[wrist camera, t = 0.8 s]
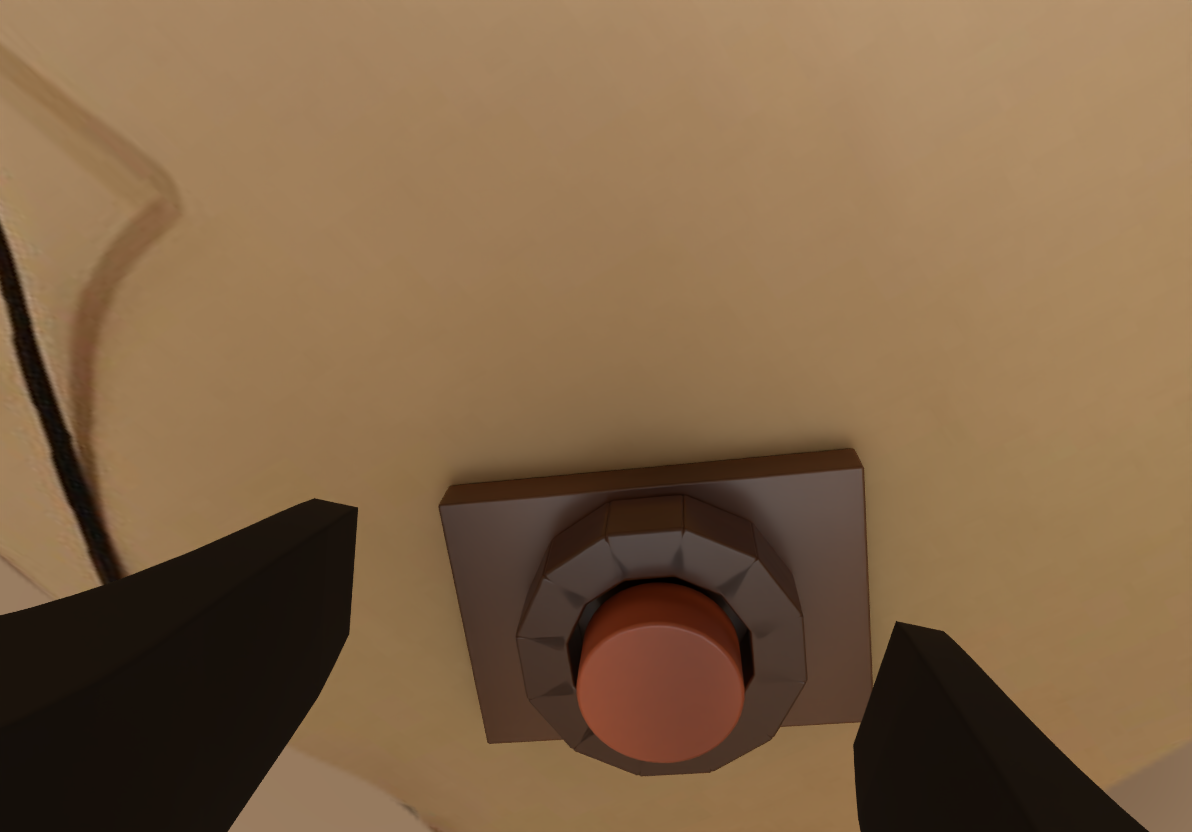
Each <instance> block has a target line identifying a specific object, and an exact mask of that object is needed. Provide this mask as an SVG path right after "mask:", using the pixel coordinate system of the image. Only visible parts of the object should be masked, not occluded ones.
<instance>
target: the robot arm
mask: <svg viewBox="0 0 1192 832" xmlns="http://www.w3.org/2000/svg"><path fill="white" fill-rule="evenodd" d="M357 516H358V507H353V506H348V505H344V504H339V503H334V502H329V501H325V500H320V499H315V498H314V499H311V500H309V501H306V502H303V503H300V504H298V505H295V506H293V507H291V508H288V509H286V510H284V511H281V512H279V513H277V514H275V515H272V516H270V517H268V518H266V519H264V520H261V521H259V522H257V523H255V524H252V525H250V526H248V527H246V528H244V529H241V530H239V531H237V532H235V533H232V534H230V535H228V536H225V537H223V538H221V539H219V540H216V541H214V542H212V543H210V544H207V545H205V546H203V547H200V548H198V549H196V550H194V551H191V552H189V553H186V554H184V555H181V556H179V557H176V558H173V559H171V560H168V561H166V562H163V563H161V564H158V565H156V566H153V567H150V568H148V569H145V570H143V571H140V572H138V573H135V574H133V575H130V576H127V577H125V578H122V579H120V580H117V581H114V582H111V583H108V584H105V585H103V586H100V587H97V588H94V589H91V590H87V591H84V592H81V593H78V594H75V595H72V596H68V597H65V598H62V599H58V600H55V601H52V602H48V603H45V604H42V605H39V606H35V607H32V608H28V609H24V610H20V611H17V612H13V613H8V614H4V615H0V832H228V830H229V829H230V827H231V826H232V824H233V823H234V821H235V820H236V818H237V817H238V815H239V814H240V812H241V811H242V810H243V808H244V807H245V805H246V804H247V802H248V800H249V799H250V798H251V796H252V794H253V793H254V792H255V790H256V789H257V787H258V786H259V784H260V783H261V782H262V780H263V779H264V777H265V776H266V774H267V773H268V771H269V770H270V768H271V767H272V765H273V764H274V762H275V761H276V759H277V758H278V756H279V755H280V753H281V752H282V751H283V749H284V748H285V746H286V745H287V743H288V742H289V740H290V739H291V737H292V736H293V734H294V733H295V731H296V730H297V728H298V727H299V725H300V724H301V722H302V721H303V719H304V718H305V716H306V715H307V713H308V712H309V710H310V709H311V707H312V706H313V704H314V703H315V701H316V699H317V698H318V696H319V694H320V692H321V690H322V689H323V687H324V685H325V683H326V681H327V679H328V677H329V675H330V673H331V671H332V669H333V667H334V665H335V663H336V661H337V658H338V656H339V654H340V652H341V650H342V648H343V646H344V644H345V642H346V640H347V637H348V635H349V630H350V615H351V601H352V587H353V573H354V559H355V544H356V530H357ZM853 748H854V767H855V785H856V798H857V810H858V820H859V825H860V831H861V832H1149V831H1148V830H1146V829H1145V828H1144V827H1143V826H1142V825H1140V824H1139V823H1138V822H1137V821H1136V820H1135V819H1134V818H1133V817H1131V816H1130V815H1129V814H1128V813H1127V812H1126V811H1124V810H1123V809H1122V808H1121V807H1120V806H1119V805H1118V804H1117V803H1116V802H1115V801H1114V800H1112V799H1111V798H1110V797H1109V796H1108V795H1107V794H1106V793H1105V792H1104V791H1103V790H1102V789H1101V788H1099V787H1098V786H1097V785H1096V784H1095V783H1094V782H1093V781H1092V780H1091V779H1090V778H1089V777H1088V776H1087V775H1085V774H1084V773H1083V772H1082V771H1081V770H1080V769H1079V768H1078V767H1077V766H1076V765H1075V764H1074V763H1073V762H1072V761H1071V760H1070V759H1069V758H1068V757H1067V756H1066V755H1065V754H1064V753H1063V752H1062V751H1061V750H1060V749H1059V748H1058V747H1056V746H1055V745H1054V744H1053V742H1052V741H1051V740H1050V739H1049V738H1048V737H1047V736H1046V735H1045V734H1044V733H1043V732H1042V731H1041V730H1040V729H1039V728H1038V727H1037V726H1036V725H1035V724H1034V723H1033V722H1032V721H1031V720H1030V719H1029V718H1028V717H1027V716H1026V715H1025V714H1024V713H1023V712H1022V711H1021V710H1020V709H1019V708H1018V707H1017V706H1016V705H1015V703H1014V702H1013V701H1012V700H1011V699H1010V698H1009V697H1008V696H1007V695H1006V694H1005V693H1004V692H1003V691H1002V690H1001V689H1000V688H999V687H998V686H997V685H996V683H995V682H994V681H993V680H992V679H991V678H990V677H989V676H988V675H987V674H986V673H985V672H984V671H983V670H982V669H981V668H980V667H979V666H978V664H977V663H976V662H975V661H974V660H973V659H972V658H971V657H970V656H969V655H968V654H967V653H966V652H965V651H964V650H963V649H962V648H961V647H960V646H959V645H958V644H957V643H956V642H955V641H954V640H953V639H952V638H951V637H949V636H948V635H947V634H946V633H945V632H944V631H940V630H935V629H930V628H926V627H921V626H916V625H912V624H907V623H902V622H897V621H896V623H895V626H894V629H893V632H892V634H891V637H890V640H889V643H888V646H887V649H886V652H885V655H884V658H883V660H882V663H881V666H880V669H879V672H878V675H877V678H876V681H875V684H874V687H873V689H872V692H871V695H870V698H869V701H868V704H867V707H866V710H865V713H864V715H863V718H862V721H861V724H860V727H859V730H858V733H857V736H856V739H855V742H854V744H853Z"/></svg>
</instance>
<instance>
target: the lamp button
mask: <svg viewBox="0 0 1192 832" xmlns="http://www.w3.org/2000/svg"><path fill="white" fill-rule="evenodd" d="M576 693H577V701H578V705H579V708H580V711H581V713H582V716H583V718H584V720H585V721H586V723H587V725H588V726H589V728H590V729H591V730H592V731H593V733H594V734H595V735H596V736H597V737H598V738H599V739H600V740H601V741H602V742H604V743H605V744H606V745H607V746H609V747H610V748H612V749H614V750H615V751H617V752H619V753H621V754H623V755H625V756H628V757H631V758H634V759H637V760H641V761H646V762H653V763H674V762H681V761H685V760H690V759H693V758H696V757H699V756H701V755H703V754H705V753H707V752H709V751H710V750H712V749H714V748H715V747H717V746H718V745H719V744H720V743H721V742H723V741H724V740H725V739H726V738H727V736H728V735H729V734H730V733H731V732H732V730H733V729H734V727H735V726H736V724H737V722H738V720H739V718H740V716H741V713H742V710H743V706H744V699H745V687H744V679H743V671H742V663H741V655H740V647H739V641H738V636H737V633H736V630H735V628H734V626H733V624H732V622H731V620H730V619H729V617H728V616H727V614H726V613H725V612H724V611H723V610H722V608H721V607H720V606H719V605H718V604H716V603H715V602H714V601H713V600H712V599H710V598H709V597H707V596H706V595H704V594H702V593H701V592H699V591H696V590H694V589H692V588H689V587H686V586H683V585H679V584H674V583H665V582H652V583H645V584H640V585H636V586H632V587H629V588H627V589H624V590H622V591H620V592H618V593H617V594H615V595H613V596H612V597H611V598H609V599H608V600H606V601H605V602H604V603H603V604H602V605H601V606H600V607H599V608H598V609H597V610H596V612H595V613H594V614H593V616H592V618H591V619H590V621H589V623H588V625H587V628H586V630H585V635H584V639H583V645H582V651H581V658H580V664H579V670H578V676H577V686H576Z"/></svg>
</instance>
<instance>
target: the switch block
mask: <svg viewBox="0 0 1192 832" xmlns="http://www.w3.org/2000/svg"><path fill="white" fill-rule="evenodd" d="M439 512H440V516H441V521H442V526H443V531H444V536H445V540H446V545H447V550H448V555H449V560H450V564H451V569H452V574H453V579H454V584H455V588H456V593H457V598H458V603H459V608H460V612H461V617H462V622H463V627H464V632H465V637H466V641H467V646H468V651H469V656H470V661H471V665H472V670H473V675H474V680H475V685H476V689H477V694H478V699H479V704H480V709H481V713H482V718H483V723H484V728H485V733H486V737H487V742H488V743H489V744H494V743H511V742H529V741H546V740H564V741H565V742H566V743H567V744H568V745H569V746H570V748H572V749H574V751H576V752H579V753H581V754H584V755H587V756H589V757H592V758H594V759H597V760H599V761H602V762H604V763H607V764H610V765H612V766H615V767H617V768H620V769H622V770H625V771H628V772H630V773H633V774H635V775H640V776H656V775H675V774H694V773H710V772H711V771H715V770H717V769H719V768H721V767H722V766H724V765H726V764H728V763H730V762H732V761H733V760H735V759H737V758H739V757H741V756H742V755H744V754H746V753H748V752H750V751H752V750H753V749H755V748H757V747H759V746H761V745H763V744H764V743H766V742H768V741H770V740H771V739H772V737H774V736H775V734H776V733H777V731H778V729H779V728H780V727H786V726H803V725H820V724H838V723H855V722H861V721H862V718H863V715H864V713H865V710H866V707H867V704H868V701H869V698H870V695H871V692H872V689H873V680H872V655H871V630H870V605H869V580H868V555H867V530H866V505H865V480H864V467H863V465H862V463H861V461H860V459H859V457H858V455H857V454H856V452H855V450H854V449H842V450H831V451H820V452H810V453H799V454H788V455H777V456H766V457H756V458H745V459H734V460H723V461H713V462H702V463H691V464H680V465H669V466H659V467H648V468H637V469H626V470H616V471H605V472H594V473H583V474H572V475H562V476H551V477H540V478H529V479H519V480H508V481H497V482H486V483H475V484H465V485H454V486H449V488H448V489H447V491H446V493H445V495H444V497H443V498H442V500H441V502H440V504H439ZM652 582H665V583H674V584H679V585H683V586H686V587H689V588H692V589H694V590H696V591H699V592H701V593H702V594H704V595H706V596H707V597H709V598H710V599H712V600H713V601H714V602H715V603H716V604H718V605H719V606H720V607H721V608H722V610H723V611H724V612H725V613H726V614H727V616H728V617H729V619H730V620H731V622H732V624H733V626H734V628H735V630H736V633H737V636H738V641H739V647H740V655H741V663H742V671H743V679H744V687H745V699H744V706H743V710H742V713H741V716H740V718H739V720H738V722H737V724H736V726H735V727H734V729H733V730H732V732H731V733H730V734H729V735H728V736H727V738H726V739H725V740H724V741H723V742H721V743H720V744H719V745H718V746H717V747H715V748H714V749H712V750H710V751H709V752H707V753H705V754H703V755H701V756H699V757H696V758H693V759H690V760H685V761H681V762H674V763H653V762H646V761H641V760H637V759H634V758H631V757H628V756H625V755H623V754H621V753H619V752H617V751H615V750H614V749H612V748H610V747H609V746H607V745H606V744H605V743H604V742H602V741H601V740H600V739H599V738H598V737H597V736H596V735H595V734H594V733H593V731H592V730H591V729H590V728H589V726H588V725H587V723H586V721H585V720H584V718H583V716H582V713H581V711H580V708H579V705H578V701H577V693H576V686H577V676H578V670H579V664H580V658H581V651H582V645H583V639H584V635H585V630H586V628H587V625H588V623H589V621H590V619H591V618H592V616H593V614H594V613H595V612H596V610H597V609H598V608H599V607H600V606H601V605H602V604H603V603H604V602H605V601H606V600H608V599H609V598H611V597H612V596H613V595H615V594H617V593H618V592H620V591H622V590H624V589H627V588H629V587H632V586H636V585H640V584H645V583H652Z"/></svg>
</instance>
